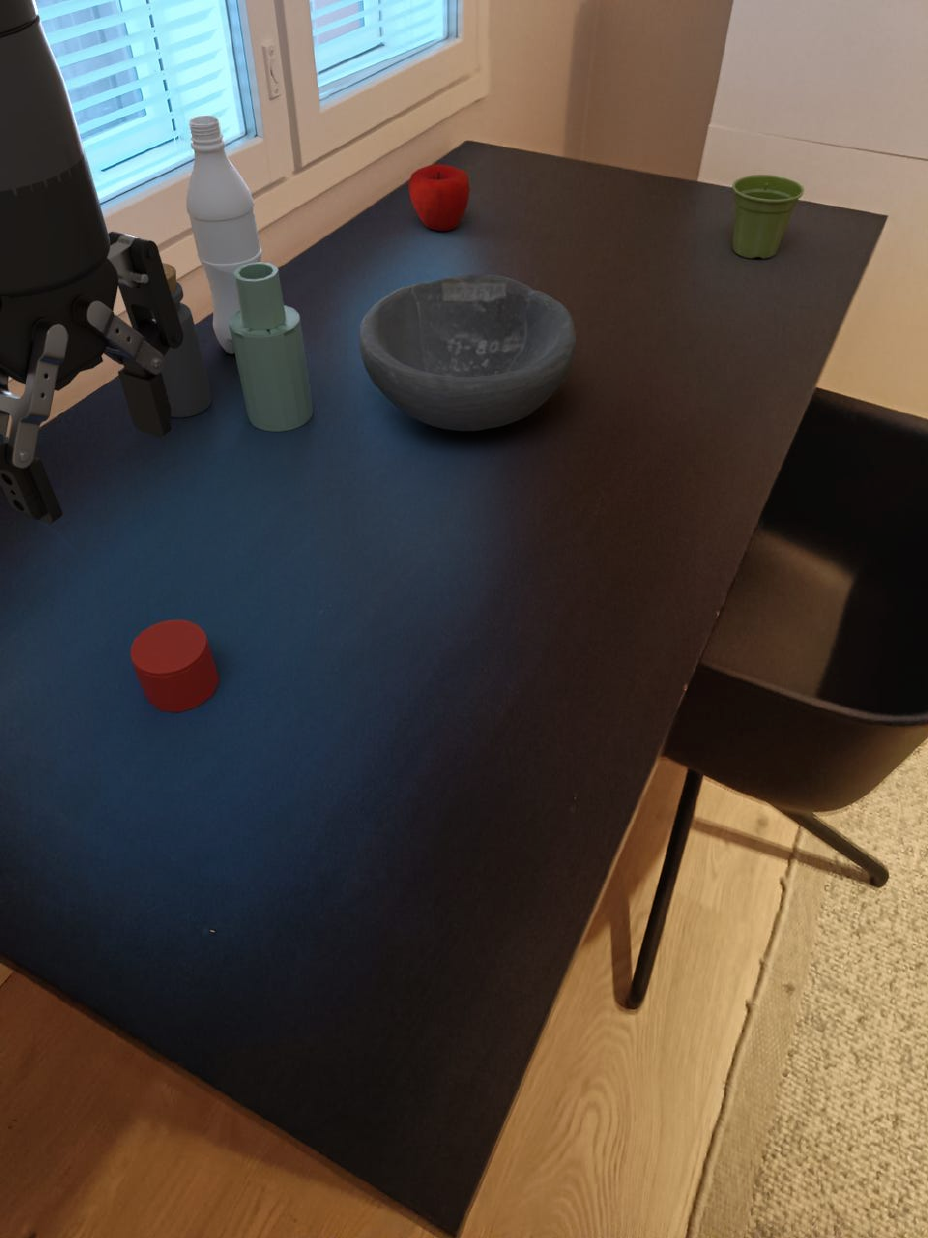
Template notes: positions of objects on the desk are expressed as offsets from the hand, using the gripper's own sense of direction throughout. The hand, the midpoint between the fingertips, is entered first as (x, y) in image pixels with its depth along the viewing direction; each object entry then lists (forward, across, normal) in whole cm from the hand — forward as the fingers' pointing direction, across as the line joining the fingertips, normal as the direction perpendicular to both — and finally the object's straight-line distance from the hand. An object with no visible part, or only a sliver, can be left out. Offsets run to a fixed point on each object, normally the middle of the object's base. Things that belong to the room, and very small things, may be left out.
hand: (102, 471), depth 49 cm
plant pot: (+25, -104, +16) cm, 108 cm away
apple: (+26, -92, -29) cm, 100 cm away
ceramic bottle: (+25, -40, -21) cm, 52 cm away
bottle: (+26, -37, -31) cm, 55 cm away
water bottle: (+26, -51, -33) cm, 65 cm away
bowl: (+25, -51, -3) cm, 57 cm away
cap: (+25, -4, -5) cm, 26 cm away
